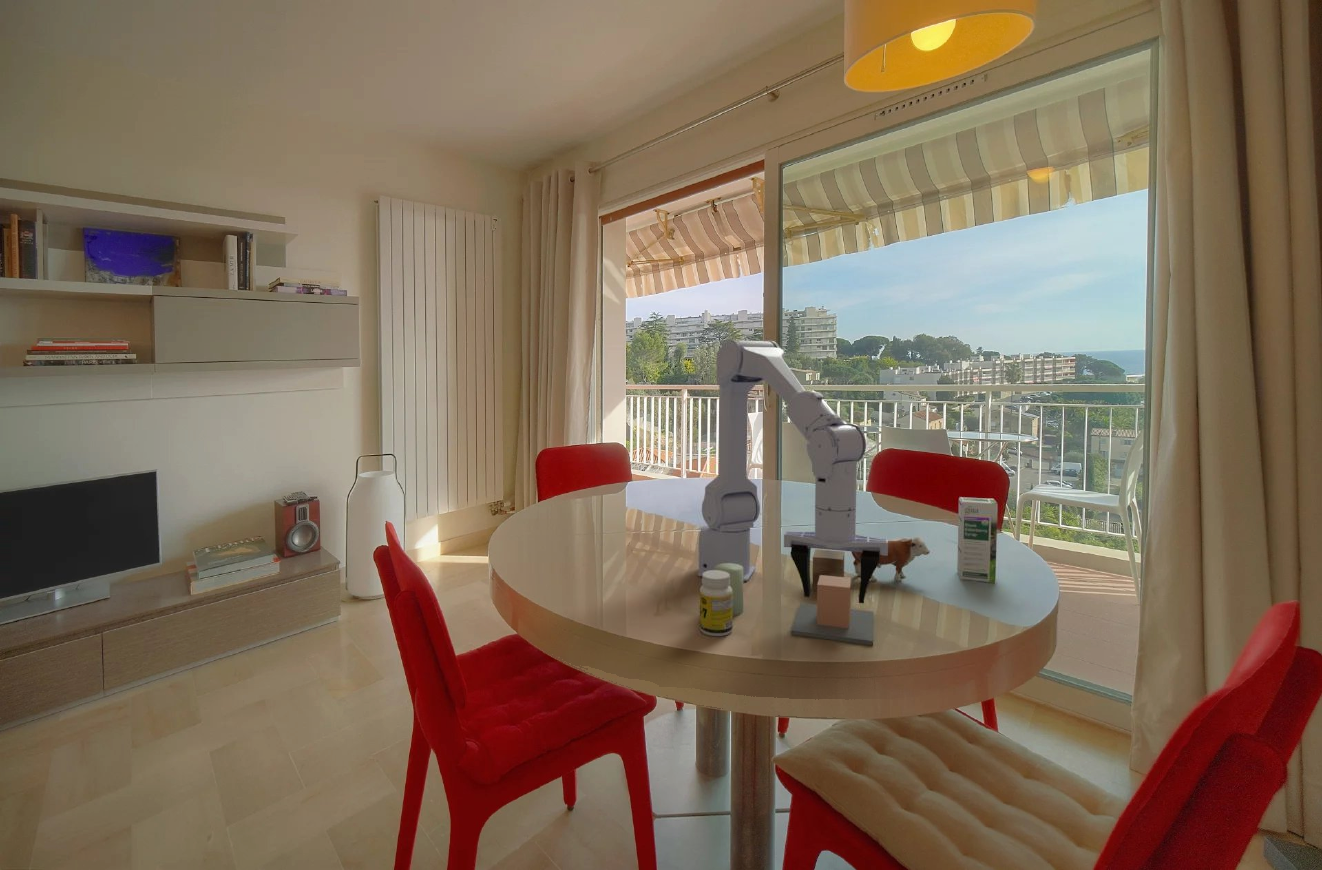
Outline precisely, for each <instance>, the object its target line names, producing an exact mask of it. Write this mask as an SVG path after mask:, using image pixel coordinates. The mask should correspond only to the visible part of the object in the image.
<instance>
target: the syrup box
mask: <svg viewBox="0 0 1322 870" xmlns="http://www.w3.org/2000/svg"><path fill="white" fill-rule="evenodd" d="M998 506H999V505H998V502H997V500H995V499H994V498H982V497H981V498H980V497H979V498H978V497H964V496H963V497H962V496H959V498H958V522H957V525H958V527H957V565H956V567H957V568H956V569H957V573H958V577H959V580H961V581H974V582H982V583H990V582H991V583H990V584H995V583H996V571H997V569H996V568H997V545H998V544H997V542H998V541H997V540H998V537H997V536H998V511H999V510H998V508H999V507H998Z"/></svg>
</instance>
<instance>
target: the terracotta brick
mask: <svg viewBox="0 0 1322 870" xmlns="http://www.w3.org/2000/svg"><path fill="white" fill-rule="evenodd" d="M851 592H852V577H845V576H844V577H835V576H825V575H820V577H819V580H818V584H817V591H816V605H817V625H824V626H832V627H840V628H849V626H850V611H851V609H852V607H851V605H852V604H851V603H852V601H851V599H852V598H851V597H852V593H851Z"/></svg>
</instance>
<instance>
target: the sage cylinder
mask: <svg viewBox="0 0 1322 870" xmlns="http://www.w3.org/2000/svg"><path fill="white" fill-rule="evenodd" d="M715 570H720V571H725V572H727V573H729V575H730V585H729V586H730V587H731V588H732V614H733V617H736V616H740V615H741V614H743V613H744V581H743V566H741V565H738V564H733V563H723V564H719V565H716V566H715Z"/></svg>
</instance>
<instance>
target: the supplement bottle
mask: <svg viewBox="0 0 1322 870" xmlns="http://www.w3.org/2000/svg"><path fill="white" fill-rule="evenodd" d="M701 584H702V585H701V586H700V588H699V629H700V631H701V633H703V634H705V635H707V636H710V637H724V636H727V635H730V634H731V633H732V631H733V628H734V627H733V625H734V623H733V617H734V616H733V614H732V588H731V587H730V586H729V585H730V575H729V573H727V572H725V571H720V570H710V571H706V572H704V573H703V574H702V576H701Z"/></svg>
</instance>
